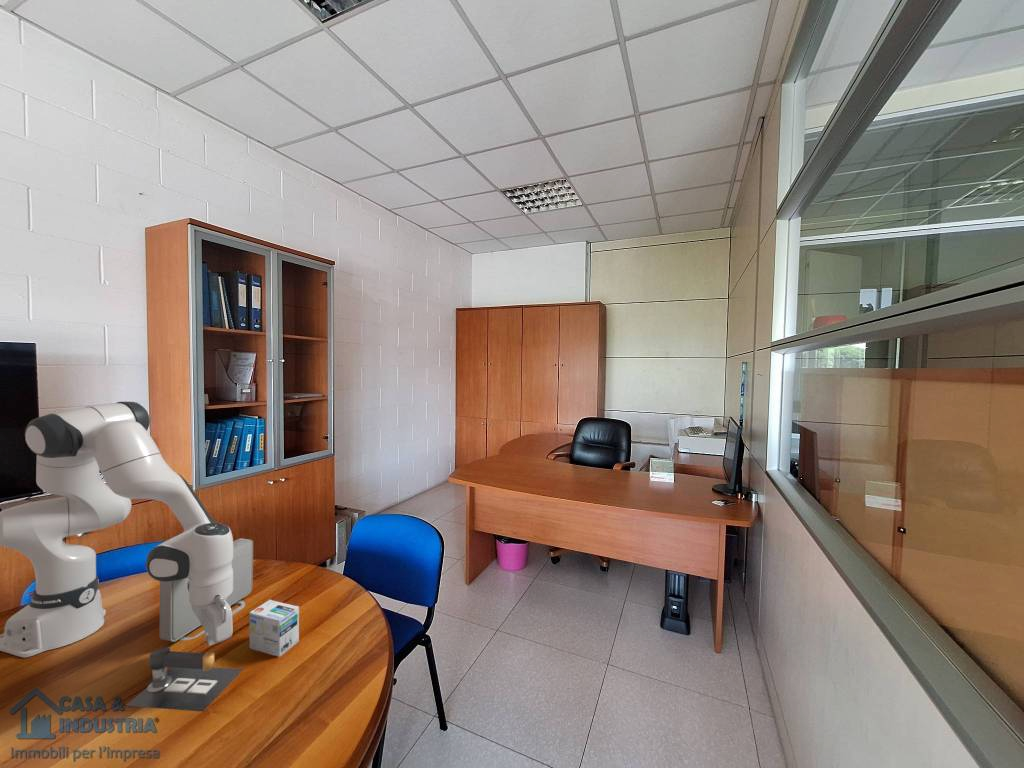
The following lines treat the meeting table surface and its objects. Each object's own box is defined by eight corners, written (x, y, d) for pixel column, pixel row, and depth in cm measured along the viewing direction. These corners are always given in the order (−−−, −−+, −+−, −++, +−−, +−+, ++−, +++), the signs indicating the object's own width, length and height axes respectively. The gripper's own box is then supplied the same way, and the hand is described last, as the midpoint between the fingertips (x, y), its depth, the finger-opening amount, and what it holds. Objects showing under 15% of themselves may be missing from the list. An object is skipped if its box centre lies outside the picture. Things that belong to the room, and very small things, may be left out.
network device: (177, 652, 103) (177, 579, 102) (151, 646, 105) (151, 574, 104) (258, 598, 128) (258, 538, 127) (236, 594, 130) (236, 535, 129)
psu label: (163, 691, 90) (163, 689, 90) (177, 679, 94) (177, 677, 94) (182, 692, 90) (182, 691, 90) (195, 680, 93) (195, 678, 93)
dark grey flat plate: (125, 708, 86) (125, 705, 86) (174, 666, 98) (174, 664, 98) (203, 713, 85) (203, 711, 85) (243, 671, 97) (243, 669, 97)
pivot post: (141, 693, 90) (141, 671, 90) (159, 678, 94) (159, 657, 94) (159, 695, 90) (159, 673, 89) (177, 680, 94) (177, 658, 94)
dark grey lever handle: (145, 669, 90) (145, 657, 90) (159, 658, 94) (159, 646, 93) (206, 673, 89) (206, 661, 89) (219, 662, 93) (219, 650, 93)
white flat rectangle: (186, 692, 90) (186, 691, 90) (199, 680, 93) (199, 679, 93) (204, 694, 90) (204, 692, 90) (217, 681, 93) (217, 680, 93)
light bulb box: (299, 642, 108) (300, 605, 108) (279, 660, 102) (279, 620, 101) (269, 634, 111) (270, 598, 110) (247, 650, 104) (248, 612, 104)
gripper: (240, 599, 94) (240, 654, 94) (214, 570, 106) (214, 619, 107) (208, 611, 89) (208, 669, 89) (185, 579, 101) (185, 630, 102)
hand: (211, 641), depth 98 cm, fingers closed
